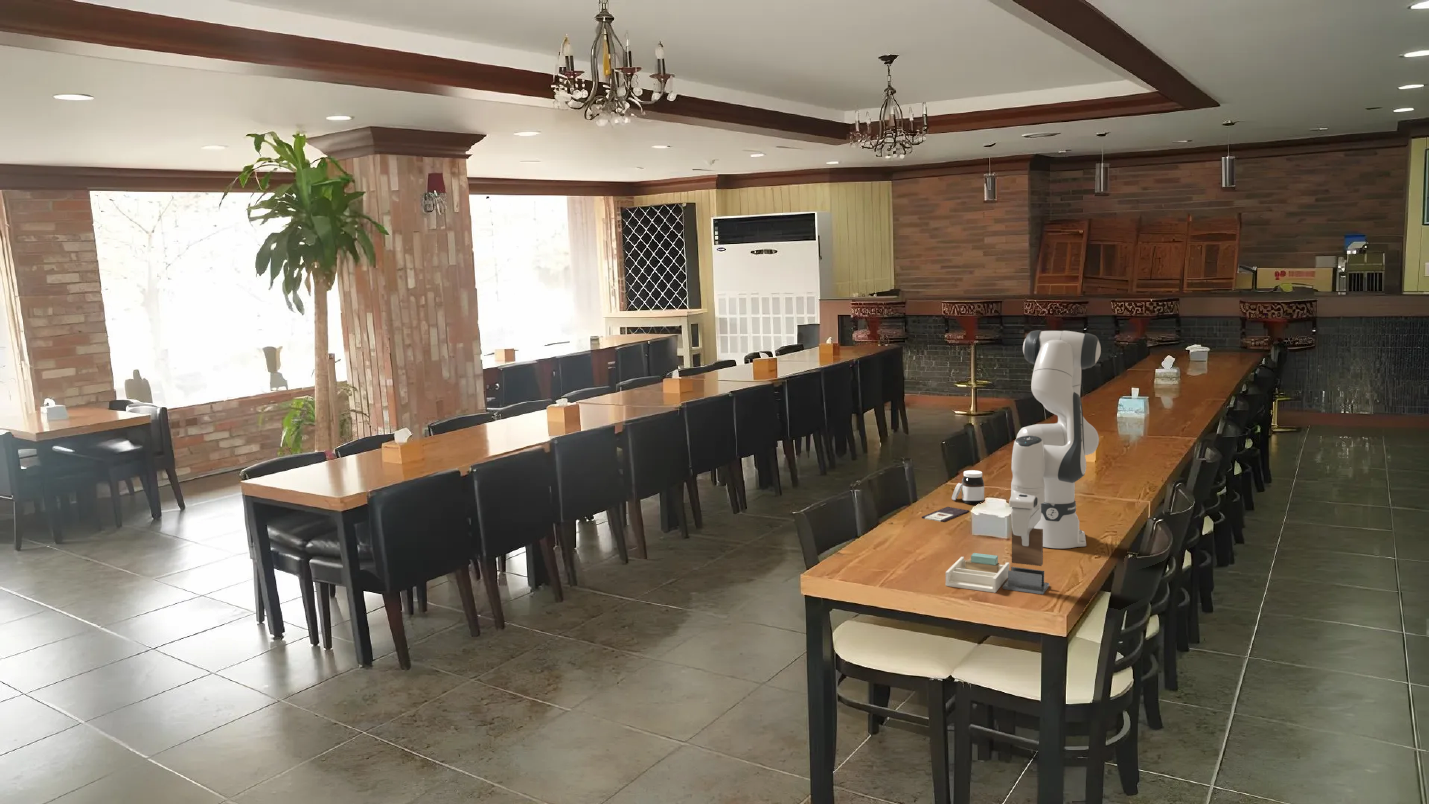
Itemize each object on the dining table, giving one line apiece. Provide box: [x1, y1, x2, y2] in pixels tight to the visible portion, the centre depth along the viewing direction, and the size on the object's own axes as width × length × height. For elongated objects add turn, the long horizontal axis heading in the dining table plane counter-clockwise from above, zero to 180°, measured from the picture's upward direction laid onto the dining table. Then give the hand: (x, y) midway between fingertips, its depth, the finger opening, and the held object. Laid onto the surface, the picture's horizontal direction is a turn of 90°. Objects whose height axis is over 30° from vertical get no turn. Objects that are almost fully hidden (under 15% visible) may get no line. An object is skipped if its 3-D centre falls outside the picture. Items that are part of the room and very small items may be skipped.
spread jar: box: [951, 469, 985, 505], centre depth 366 cm, size 12×11×12 cm
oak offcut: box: [966, 558, 1000, 573], centre depth 281 cm, size 3×9×3 cm, turn 60°
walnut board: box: [1011, 528, 1044, 567], centre depth 269 cm, size 2×8×10 cm, turn 60°
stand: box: [1002, 566, 1050, 595], centre depth 270 cm, size 8×11×5 cm
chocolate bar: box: [921, 506, 970, 523], centre depth 349 cm, size 9×1×18 cm
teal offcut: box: [970, 552, 999, 565], centre depth 281 cm, size 3×7×2 cm, turn 60°
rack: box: [945, 556, 1010, 594], centre depth 277 cm, size 16×14×4 cm
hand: (1027, 543), depth 269 cm, fingers closed on walnut board, 2 cm apart
